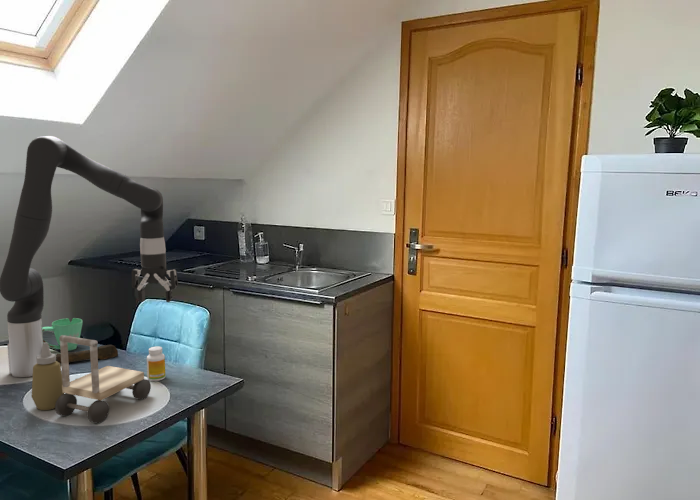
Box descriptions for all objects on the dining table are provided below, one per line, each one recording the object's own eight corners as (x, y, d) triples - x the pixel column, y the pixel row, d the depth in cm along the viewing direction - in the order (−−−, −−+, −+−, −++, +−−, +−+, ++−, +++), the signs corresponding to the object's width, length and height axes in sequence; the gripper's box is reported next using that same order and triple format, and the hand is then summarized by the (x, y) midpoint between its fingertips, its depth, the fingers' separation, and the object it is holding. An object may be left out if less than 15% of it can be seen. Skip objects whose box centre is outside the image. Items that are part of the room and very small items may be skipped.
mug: (77, 342, 208) (76, 316, 206) (88, 348, 201) (87, 321, 200) (34, 351, 197) (32, 324, 196) (44, 358, 191) (42, 330, 189)
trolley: (55, 418, 147) (49, 337, 144) (116, 388, 167) (112, 317, 164) (93, 427, 142) (89, 344, 139) (151, 395, 162) (148, 322, 159)
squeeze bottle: (42, 415, 148) (38, 349, 146) (26, 407, 153) (21, 344, 150) (71, 404, 155) (68, 341, 152) (55, 397, 159) (51, 336, 157)
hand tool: (55, 367, 184) (55, 353, 183) (56, 363, 187) (55, 349, 187) (118, 359, 192) (117, 346, 191) (117, 356, 195) (117, 343, 195)
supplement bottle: (168, 378, 175) (167, 348, 174) (151, 382, 171) (150, 352, 170) (161, 373, 179) (160, 344, 178) (144, 377, 175) (143, 347, 174)
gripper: (125, 253, 174) (128, 304, 177) (170, 253, 173) (172, 304, 176) (136, 249, 182) (139, 298, 184) (179, 250, 181) (181, 299, 183)
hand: (155, 301), depth 180 cm, fingers open, 8 cm apart
